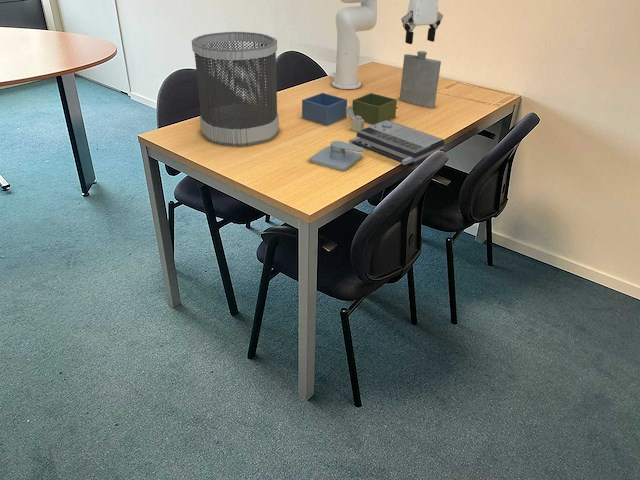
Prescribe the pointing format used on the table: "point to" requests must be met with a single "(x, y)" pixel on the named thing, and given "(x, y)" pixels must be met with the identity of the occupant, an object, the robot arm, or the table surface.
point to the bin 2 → (374, 108)
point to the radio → (398, 142)
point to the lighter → (355, 120)
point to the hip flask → (419, 80)
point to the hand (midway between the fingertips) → (419, 42)
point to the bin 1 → (324, 108)
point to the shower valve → (338, 155)
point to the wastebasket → (240, 118)
